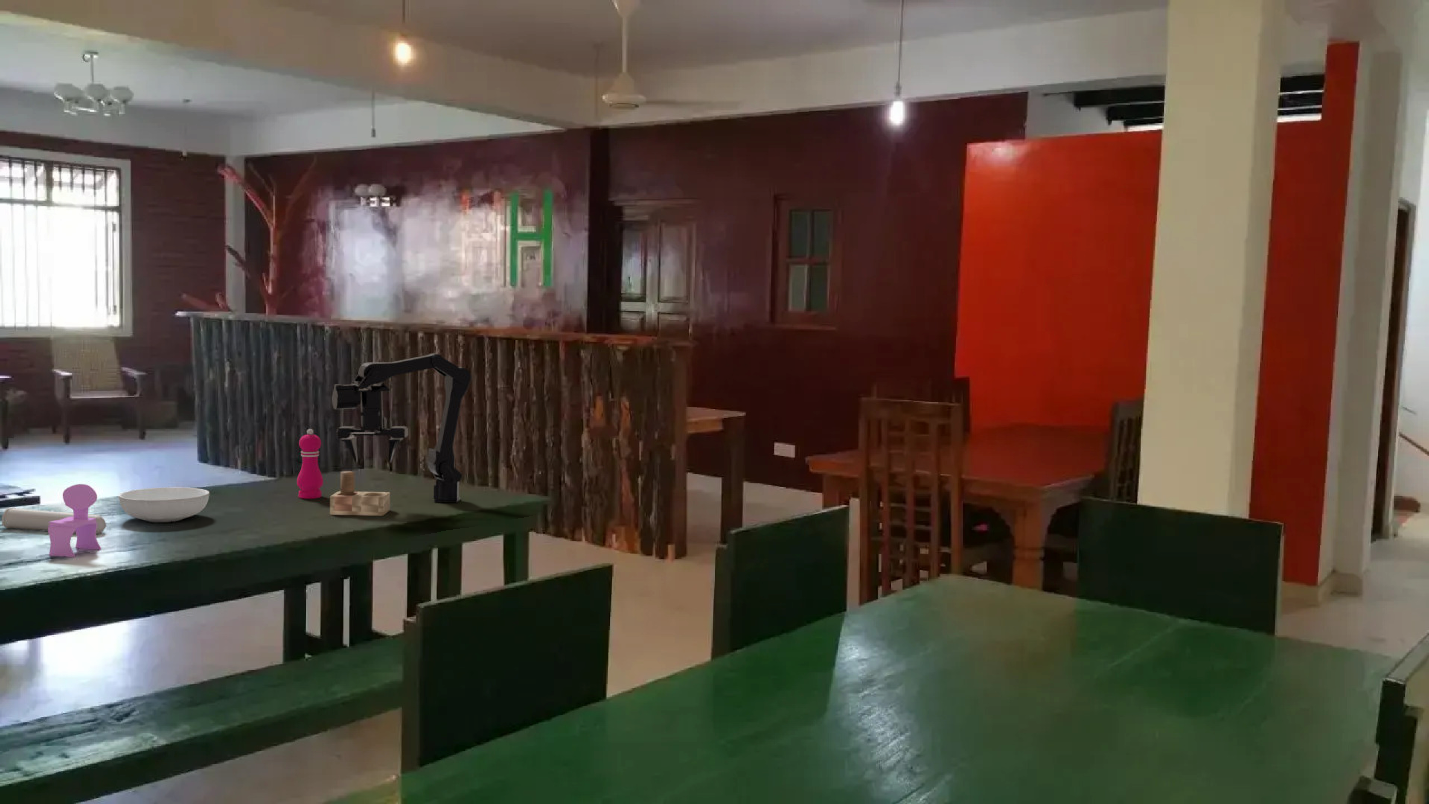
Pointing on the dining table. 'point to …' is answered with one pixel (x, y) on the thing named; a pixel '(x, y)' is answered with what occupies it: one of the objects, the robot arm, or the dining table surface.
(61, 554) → the toy chair
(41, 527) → the tube
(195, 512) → the serving bowl
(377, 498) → the bore block
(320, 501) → the dining table surface
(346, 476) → the dowel
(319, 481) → the pepper mill
